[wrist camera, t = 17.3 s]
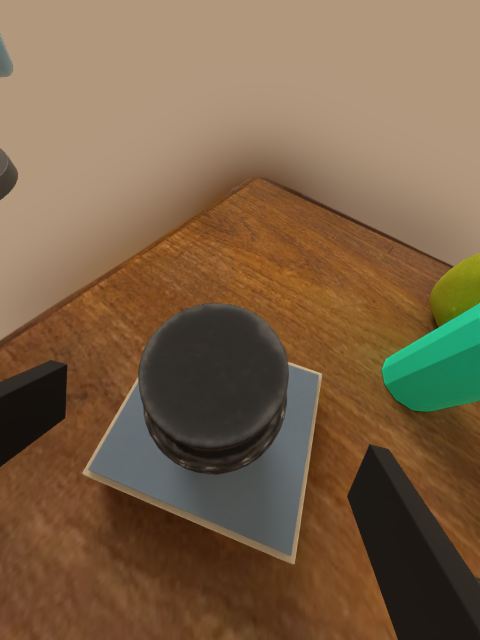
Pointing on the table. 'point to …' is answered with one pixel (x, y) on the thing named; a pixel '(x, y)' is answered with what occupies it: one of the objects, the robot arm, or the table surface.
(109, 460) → the blue topped tan slab
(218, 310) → the pill bottle
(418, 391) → the candle
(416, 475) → the table surface
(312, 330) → the table surface
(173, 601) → the table surface
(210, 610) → the table surface
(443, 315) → the fruit
